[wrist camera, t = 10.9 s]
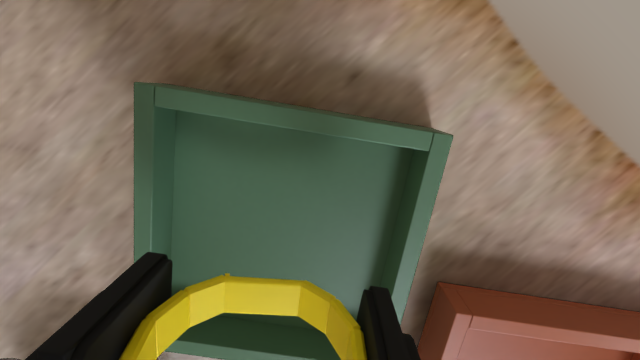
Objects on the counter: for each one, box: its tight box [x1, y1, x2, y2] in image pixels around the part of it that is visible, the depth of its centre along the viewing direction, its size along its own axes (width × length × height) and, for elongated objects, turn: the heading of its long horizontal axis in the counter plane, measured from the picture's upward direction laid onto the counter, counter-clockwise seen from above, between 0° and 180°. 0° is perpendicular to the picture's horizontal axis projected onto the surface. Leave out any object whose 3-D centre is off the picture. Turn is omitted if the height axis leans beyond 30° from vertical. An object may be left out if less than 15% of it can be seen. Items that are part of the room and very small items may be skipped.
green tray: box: [134, 82, 453, 360], centre depth 15 cm, size 13×13×2 cm
